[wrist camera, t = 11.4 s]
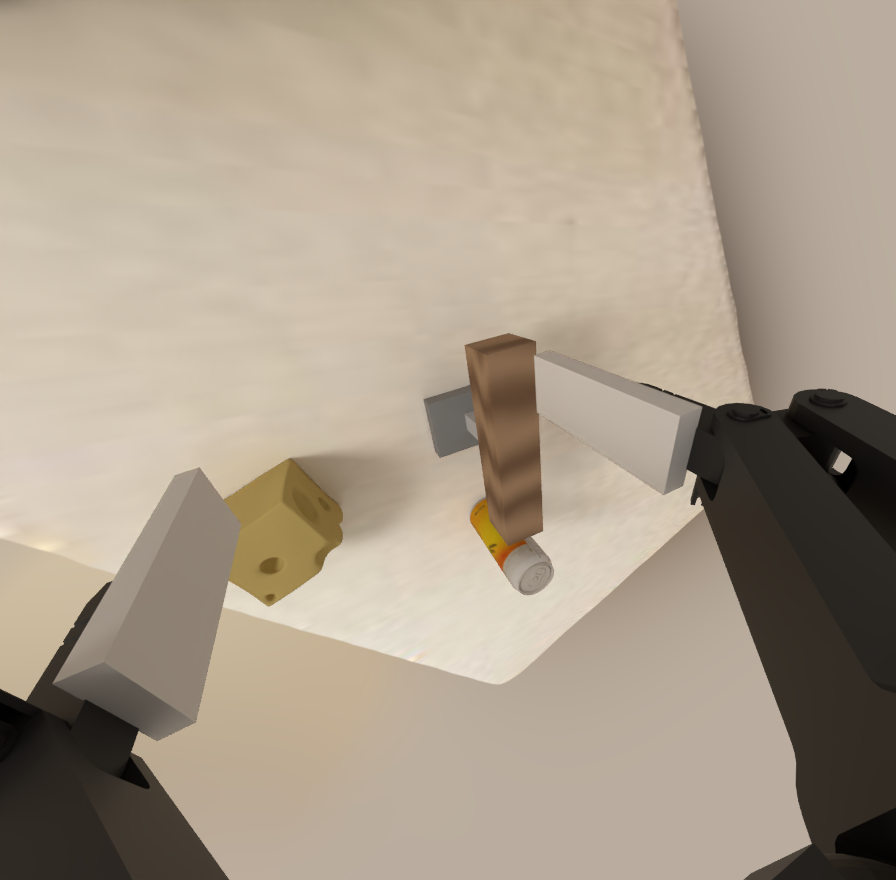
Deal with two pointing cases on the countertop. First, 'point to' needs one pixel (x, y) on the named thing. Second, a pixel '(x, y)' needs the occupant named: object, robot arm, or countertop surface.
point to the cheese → (282, 532)
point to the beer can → (514, 554)
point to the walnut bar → (508, 432)
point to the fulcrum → (452, 421)
